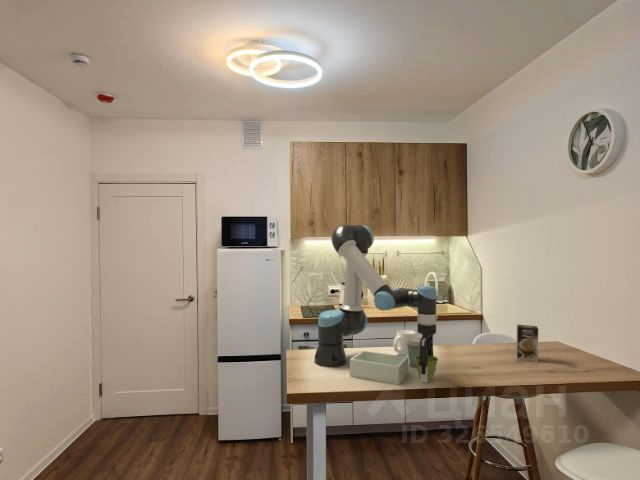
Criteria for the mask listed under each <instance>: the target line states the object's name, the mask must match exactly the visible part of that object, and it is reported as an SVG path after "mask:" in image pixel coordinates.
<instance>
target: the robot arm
mask: <svg viewBox="0 0 640 480" xmlns="http://www.w3.org/2000/svg"><path fill="white" fill-rule="evenodd" d="M331 244H332V247H333V248H334V250H335V252H336V253H337V254H338V256H340V257H343V258H344V259H345V262H346V263H345V276H344V291H343V302H342V304H341V305H340V306H339V309H331V310H330V309H329V310H325V311H322V312H320V314H319V315H318V322H317V324H318V325H317V327H318V328H317V335H318V338H317V342H318V344H317V348H316V351H315V355H314V363H315V364H316V365H318V366H322V367H329V368H330V367H340V366H344V365H346V364H347V362H348V361H347V354H346V350H345V347H344V337H345V338H346V337H350V336H354V335H355V336H356V335H358V334H360V333H362V332H364V330H365V329H366V328H367V326H368V316H367V313H366V312H365V311H364V307H363V306H362V294H363V293H362V291H363V284H364V285H365V286H366V288H367V289H368V290H369V291H370V293H371V295H373V303H374V306H375V307H376V309H378V310H379V311H390V310H394V309H399V308H404V307H406V308H407V307H409V308H417V317H416V319H417V321H416V322H417V329H416V330H417V331H416V332H417V334H421V336H422V337H421V338H420V339H421V340H420V358H419V364H418V365H419V366H420V379H419V381H420V382H422V383H428V381H427V380H428V366H427V359H428V356H434V335H436V333H437V325H436V323H437V320H438V318H439V317H438V316H437V297H438V296H437V288H436V287H435V286H432V285H419V286H417V289H414V288H413V289H411V288H405V287H396V288H395V289H392V288H391V287H390V286H389V285H388V283H387V282H386V281H385V280H384V278H383V277H382V276H381V274H379V272H378V271H377V270H376V268H374V266H373V265H372V264H371V263H370V261H369V260H368V258H366V256H367V255H368V253H369V249H370V248H371V247H372V246H373V244H374V234H373V231H372V230H371V228H370V227H368V226H366V225H362V224H346V223H345V224H340V225H339V226H336V227H335V228H334V230H333V231H332V234H331ZM434 357H435V356H434ZM422 362H423V363H422Z"/></svg>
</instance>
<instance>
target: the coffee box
mask: <svg viewBox="0 0 640 480" xmlns="http://www.w3.org/2000/svg"><path fill="white" fill-rule="evenodd" d="M515 337H516V340H515V341H516V344H515V346H516V347H515V358H516V360H517V361H526V362H534V363H538V361H539V327H538V326H536V325H529V324H528V325H527V324H526V325H525V324H524V325H523V324H516V336H515Z"/></svg>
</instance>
